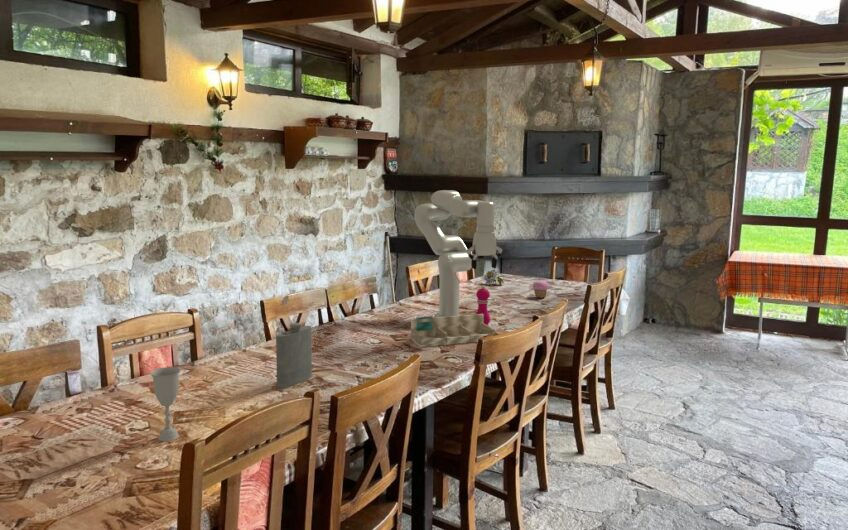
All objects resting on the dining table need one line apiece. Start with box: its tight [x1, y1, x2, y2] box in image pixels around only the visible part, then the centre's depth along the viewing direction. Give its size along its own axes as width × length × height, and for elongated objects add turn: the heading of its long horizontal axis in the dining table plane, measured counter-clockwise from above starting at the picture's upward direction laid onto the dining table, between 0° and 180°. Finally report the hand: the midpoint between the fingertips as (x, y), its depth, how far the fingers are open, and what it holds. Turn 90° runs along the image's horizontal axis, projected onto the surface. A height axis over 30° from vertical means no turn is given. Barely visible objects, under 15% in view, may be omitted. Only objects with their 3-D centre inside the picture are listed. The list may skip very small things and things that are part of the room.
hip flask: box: [275, 322, 313, 390], centre depth 210 cm, size 16×4×20 cm, turn 151°
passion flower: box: [481, 268, 505, 286], centre depth 395 cm, size 11×11×12 cm
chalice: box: [150, 366, 181, 442], centre depth 166 cm, size 7×7×18 cm
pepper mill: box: [475, 284, 491, 326], centre depth 284 cm, size 7×7×20 cm
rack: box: [410, 313, 496, 348], centre depth 265 cm, size 33×12×9 cm, turn 111°
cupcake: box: [532, 279, 550, 299], centre depth 357 cm, size 9×9×10 cm
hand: (484, 268), depth 281 cm, fingers open, 9 cm apart
